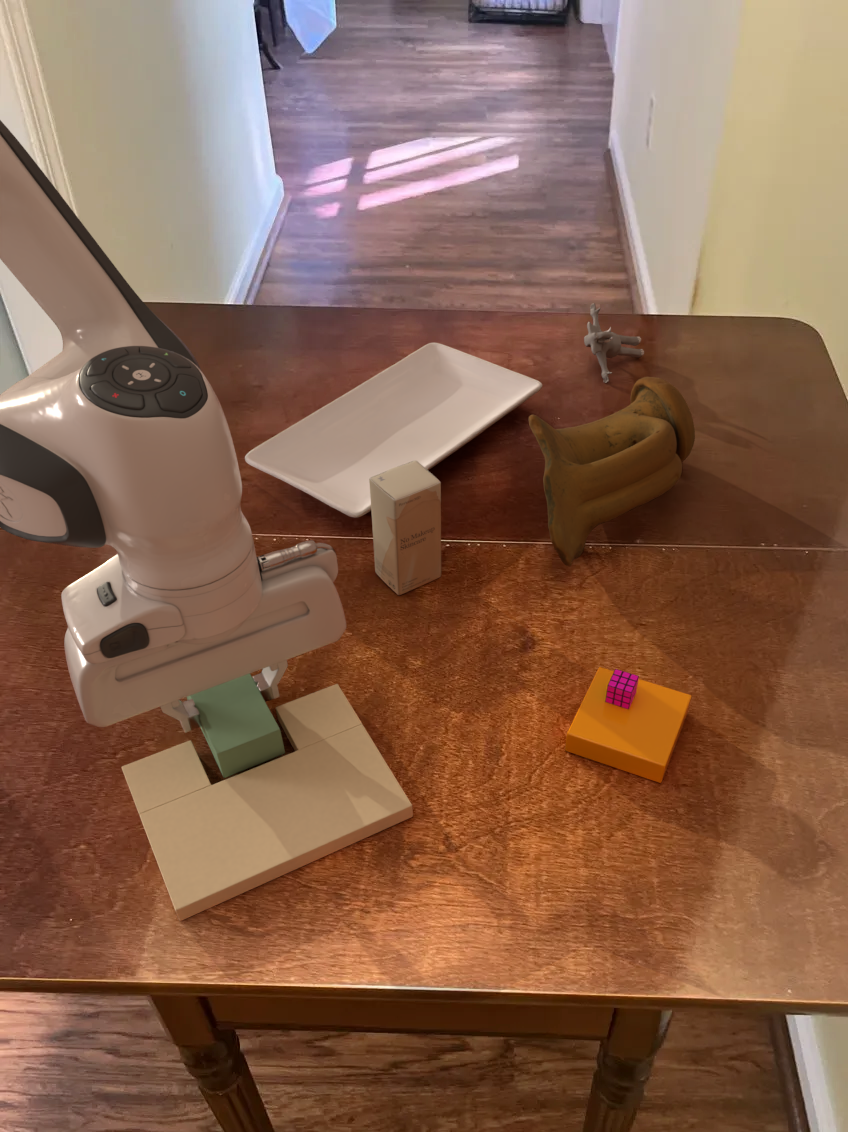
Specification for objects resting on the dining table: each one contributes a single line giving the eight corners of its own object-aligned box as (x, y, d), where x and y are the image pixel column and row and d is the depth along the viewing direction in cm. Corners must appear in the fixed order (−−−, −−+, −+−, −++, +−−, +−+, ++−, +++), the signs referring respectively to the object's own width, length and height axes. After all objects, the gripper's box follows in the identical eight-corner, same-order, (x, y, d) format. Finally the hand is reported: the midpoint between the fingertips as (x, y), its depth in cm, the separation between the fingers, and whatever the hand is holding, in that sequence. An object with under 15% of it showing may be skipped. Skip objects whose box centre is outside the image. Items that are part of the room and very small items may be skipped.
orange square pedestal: (687, 712, 82) (696, 678, 79) (661, 784, 76) (669, 749, 73) (596, 683, 84) (601, 648, 81) (564, 751, 79) (568, 716, 76)
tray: (243, 481, 104) (237, 453, 101) (433, 362, 121) (433, 336, 119) (360, 544, 97) (357, 516, 94) (545, 409, 114) (547, 382, 112)
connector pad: (285, 753, 77) (280, 729, 75) (224, 778, 75) (216, 754, 73) (242, 672, 83) (236, 647, 81) (184, 693, 81) (176, 668, 79)
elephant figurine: (662, 377, 120) (608, 371, 114) (628, 395, 125) (575, 390, 119) (647, 299, 121) (593, 290, 115) (614, 320, 125) (561, 312, 120)
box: (398, 597, 91) (391, 501, 83) (373, 572, 94) (365, 477, 86) (444, 575, 93) (442, 480, 86) (419, 551, 96) (415, 457, 88)
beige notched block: (179, 921, 68) (175, 910, 67) (125, 778, 76) (121, 766, 75) (413, 816, 74) (412, 805, 73) (339, 695, 83) (337, 683, 82)
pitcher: (449, 418, 99) (632, 336, 104) (484, 528, 106) (654, 447, 111) (531, 463, 84) (740, 366, 89) (566, 589, 91) (758, 492, 96)
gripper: (317, 510, 74) (334, 640, 83) (36, 599, 67) (91, 730, 76) (351, 558, 70) (365, 688, 80) (57, 658, 63) (112, 787, 72)
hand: (229, 709), depth 78 cm, fingers closed on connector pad, 5 cm apart
